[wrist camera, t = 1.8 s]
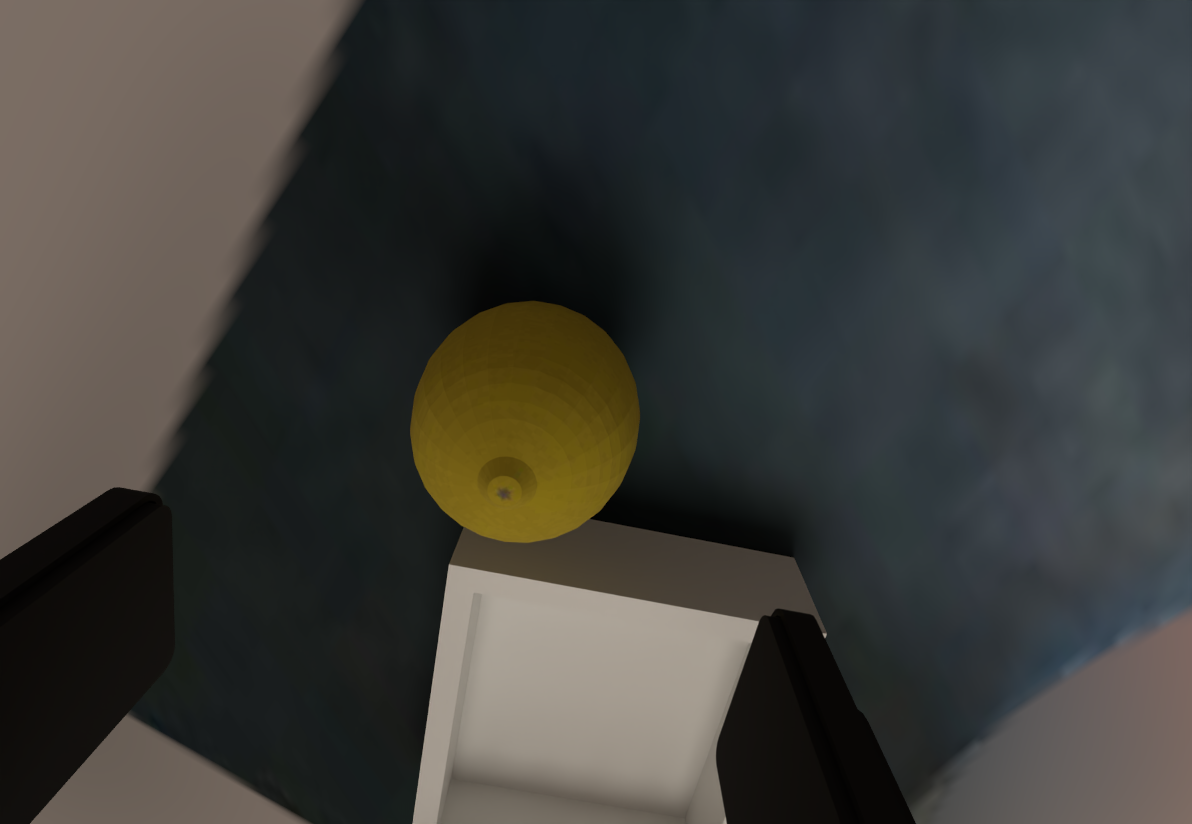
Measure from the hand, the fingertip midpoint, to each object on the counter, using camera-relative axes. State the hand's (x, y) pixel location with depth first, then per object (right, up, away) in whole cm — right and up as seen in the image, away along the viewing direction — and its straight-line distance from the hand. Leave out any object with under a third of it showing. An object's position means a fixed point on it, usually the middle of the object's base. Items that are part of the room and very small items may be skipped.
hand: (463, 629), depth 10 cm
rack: (+2, -6, +14) cm, 16 cm away
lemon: (+1, +5, +10) cm, 11 cm away
